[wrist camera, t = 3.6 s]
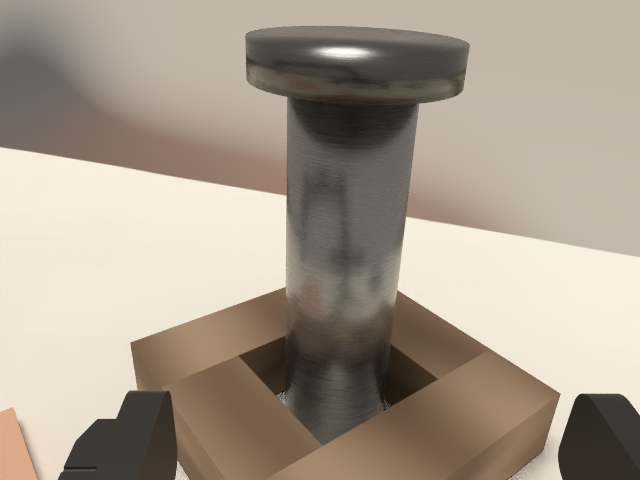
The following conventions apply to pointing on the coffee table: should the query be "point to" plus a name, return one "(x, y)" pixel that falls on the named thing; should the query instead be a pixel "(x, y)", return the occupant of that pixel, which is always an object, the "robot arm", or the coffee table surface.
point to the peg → (347, 200)
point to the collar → (362, 441)
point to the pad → (13, 450)
